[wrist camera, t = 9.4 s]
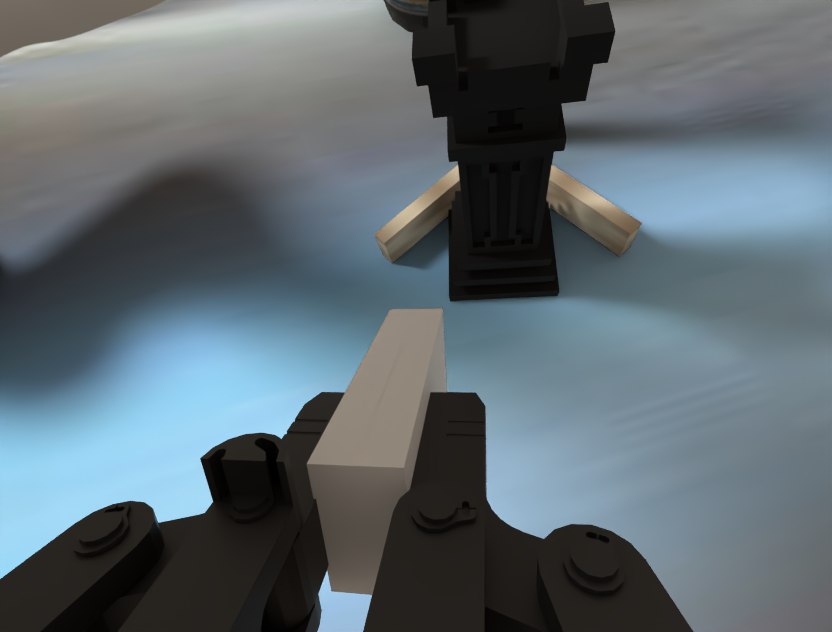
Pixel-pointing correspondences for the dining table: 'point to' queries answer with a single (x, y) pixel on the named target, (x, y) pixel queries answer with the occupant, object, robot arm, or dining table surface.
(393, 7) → the beer stein
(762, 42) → the dining table surface
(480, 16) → the chess piece
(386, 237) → the centring cradle
